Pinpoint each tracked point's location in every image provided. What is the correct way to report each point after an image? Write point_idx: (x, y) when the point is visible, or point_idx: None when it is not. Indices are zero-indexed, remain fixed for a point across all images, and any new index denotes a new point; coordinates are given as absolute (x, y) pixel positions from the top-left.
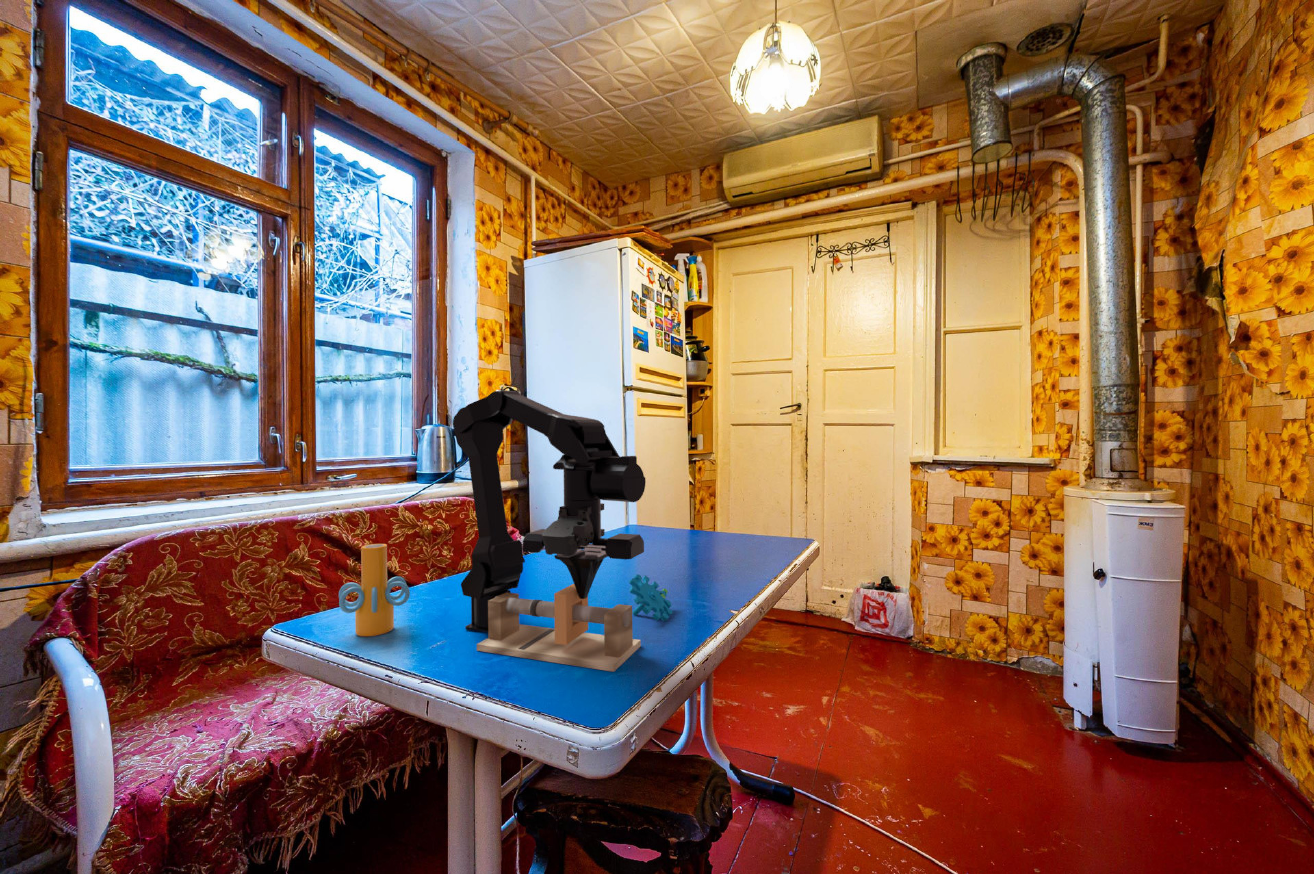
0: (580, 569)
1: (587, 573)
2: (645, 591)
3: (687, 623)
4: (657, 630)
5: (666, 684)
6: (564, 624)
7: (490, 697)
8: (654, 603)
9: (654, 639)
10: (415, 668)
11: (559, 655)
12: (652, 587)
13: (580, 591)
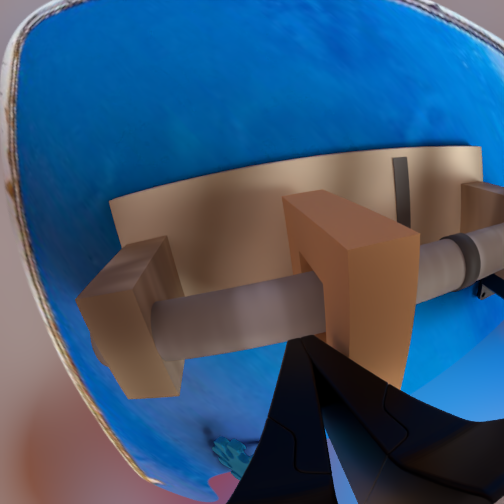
0: (365, 464)
1: (261, 456)
2: None
3: (175, 446)
4: (197, 414)
5: (12, 215)
6: (304, 207)
7: None
8: (239, 465)
9: None
10: (481, 50)
11: (283, 168)
12: None
13: (311, 354)
